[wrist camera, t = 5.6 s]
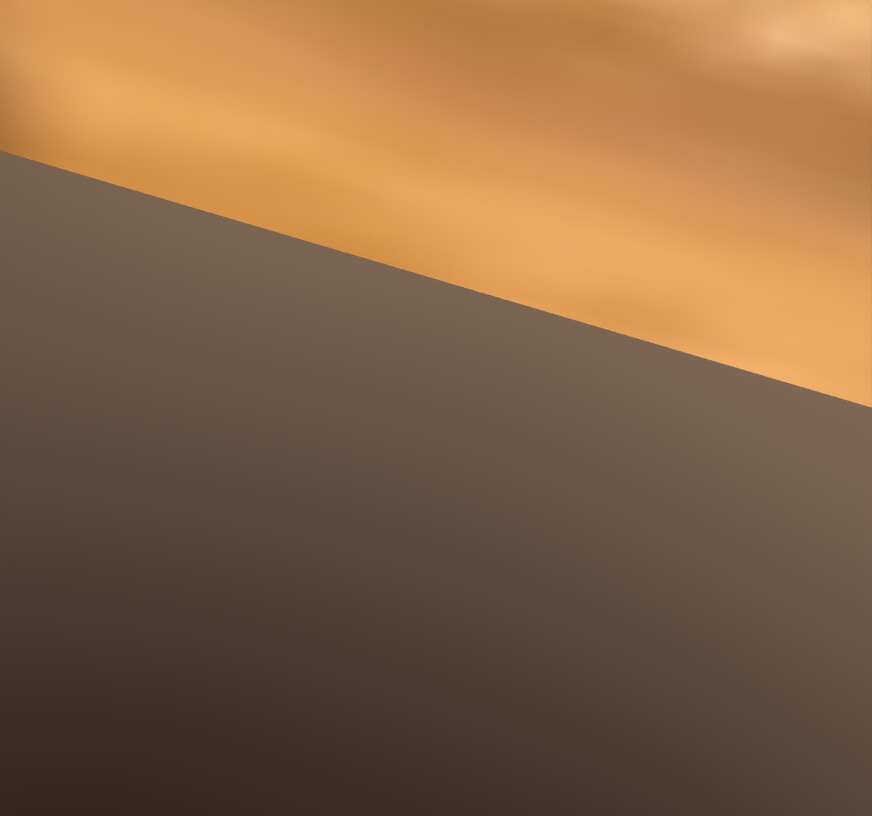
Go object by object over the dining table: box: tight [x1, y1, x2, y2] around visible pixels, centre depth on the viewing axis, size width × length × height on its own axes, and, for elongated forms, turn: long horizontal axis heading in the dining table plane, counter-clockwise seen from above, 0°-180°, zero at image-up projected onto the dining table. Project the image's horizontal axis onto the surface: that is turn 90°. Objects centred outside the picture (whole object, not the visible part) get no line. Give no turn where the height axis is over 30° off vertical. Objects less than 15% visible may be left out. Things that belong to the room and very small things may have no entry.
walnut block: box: [0, 151, 872, 816], centre depth 9 cm, size 5×5×13 cm
